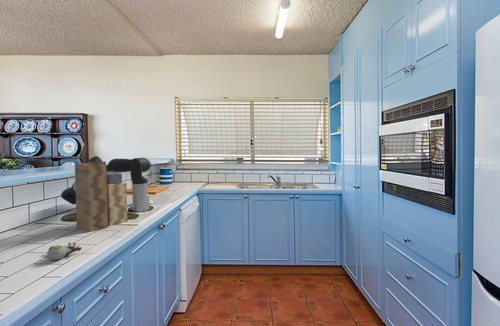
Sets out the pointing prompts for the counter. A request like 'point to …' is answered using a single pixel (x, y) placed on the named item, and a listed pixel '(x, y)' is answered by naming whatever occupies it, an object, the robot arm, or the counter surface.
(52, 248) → the toy
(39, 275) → the counter surface
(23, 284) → the counter surface
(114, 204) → the tan wooden block
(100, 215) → the stand
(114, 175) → the bar
